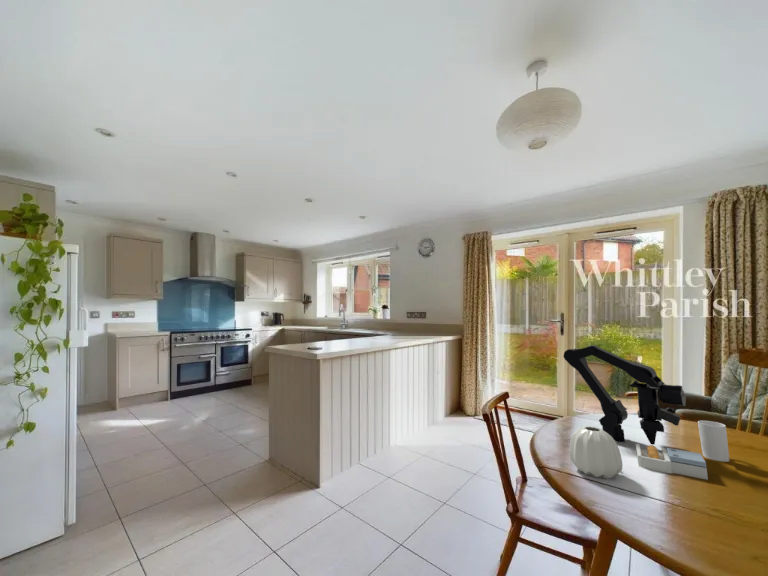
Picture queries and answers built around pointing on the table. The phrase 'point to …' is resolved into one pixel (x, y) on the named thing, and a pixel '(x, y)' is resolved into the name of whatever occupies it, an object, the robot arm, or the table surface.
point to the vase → (595, 452)
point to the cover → (686, 457)
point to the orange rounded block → (652, 452)
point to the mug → (713, 440)
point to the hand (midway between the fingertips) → (652, 444)
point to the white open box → (669, 464)
